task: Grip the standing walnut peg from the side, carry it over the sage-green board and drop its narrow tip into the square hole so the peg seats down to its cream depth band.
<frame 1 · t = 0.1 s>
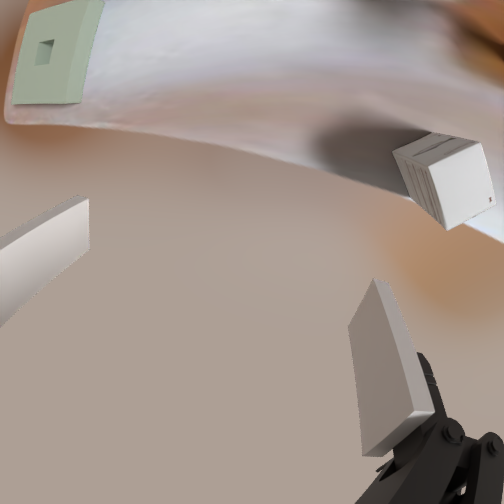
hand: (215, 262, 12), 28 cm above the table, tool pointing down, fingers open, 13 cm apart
supplement box: (421, 164, 34), on the table
sage board: (59, 54, 32), on the table
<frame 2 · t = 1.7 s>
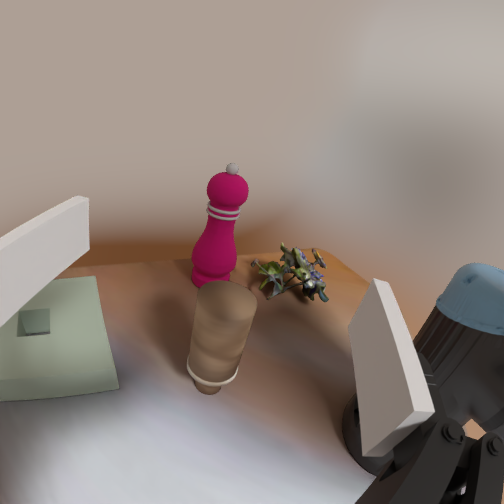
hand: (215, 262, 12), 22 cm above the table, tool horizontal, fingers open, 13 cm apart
sage board: (41, 345, 28), on the table
pepper mill: (209, 281, 49), on the table
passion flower: (284, 296, 51), on the table
walnut peg: (208, 384, 31), on the table
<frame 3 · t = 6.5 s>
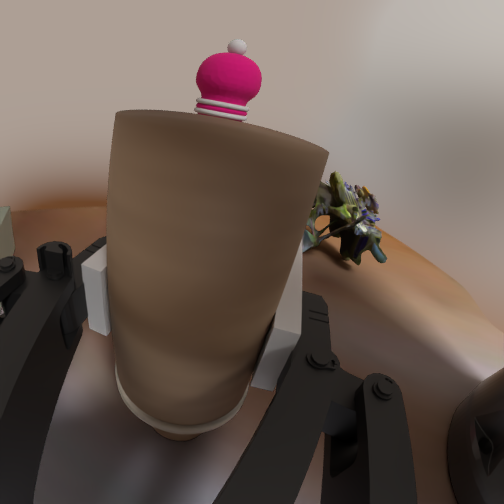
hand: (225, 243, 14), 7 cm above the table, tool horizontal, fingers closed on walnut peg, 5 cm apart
pepper mill: (197, 232, 31), on the table
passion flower: (314, 259, 32), on the table
walnut peg: (177, 415, 13), on the table, touching gripper
when the fingers open (10 cm above the table, at t = 11.7 s): walnut peg drops 2 cm, resting on sage board.
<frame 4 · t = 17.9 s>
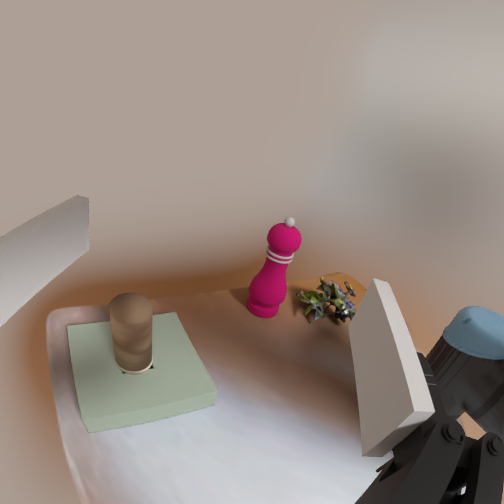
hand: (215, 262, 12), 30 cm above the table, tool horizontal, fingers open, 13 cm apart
sage board: (135, 375, 37), on the table
pepper mill: (261, 308, 59), on the table
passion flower: (321, 319, 60), on the table
walnut peg: (134, 373, 37), resting on sage board
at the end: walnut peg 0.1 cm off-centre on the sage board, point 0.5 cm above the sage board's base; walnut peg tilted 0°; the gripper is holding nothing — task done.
